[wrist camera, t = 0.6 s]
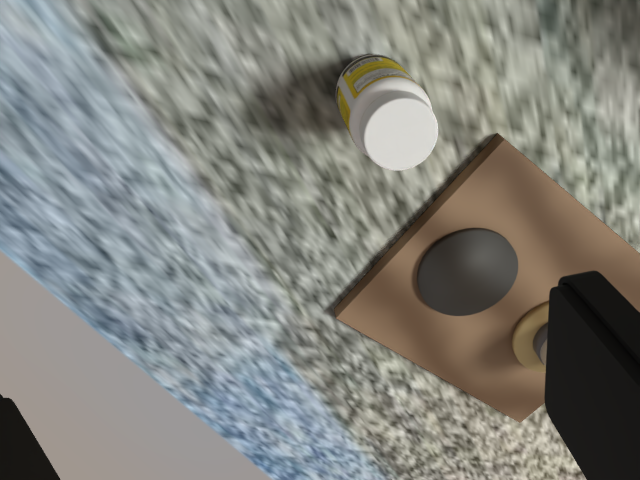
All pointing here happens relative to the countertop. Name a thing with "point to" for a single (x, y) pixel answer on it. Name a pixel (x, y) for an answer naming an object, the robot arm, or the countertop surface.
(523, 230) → the pin board
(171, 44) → the countertop surface
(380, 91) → the supplement bottle
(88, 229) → the countertop surface
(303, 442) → the countertop surface
